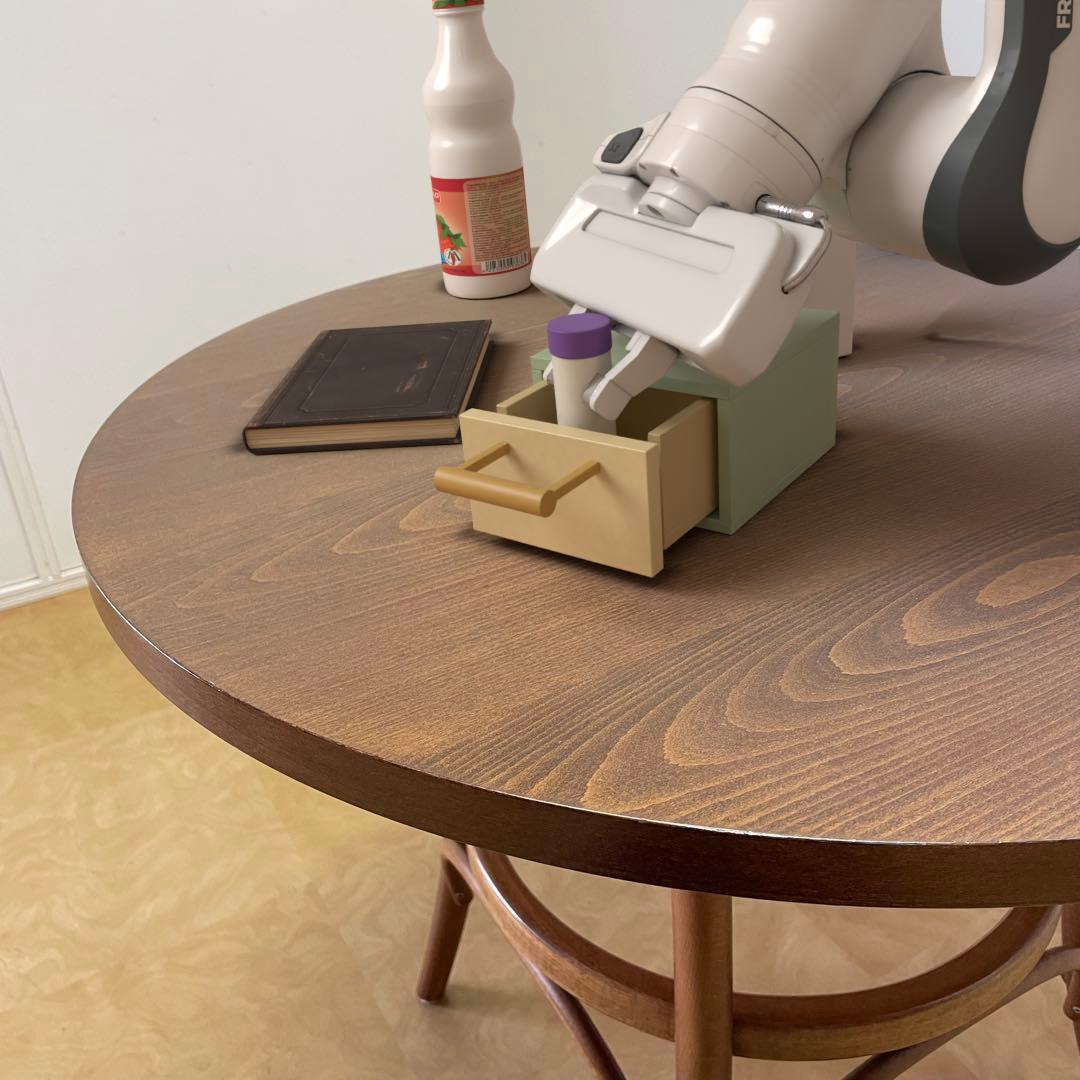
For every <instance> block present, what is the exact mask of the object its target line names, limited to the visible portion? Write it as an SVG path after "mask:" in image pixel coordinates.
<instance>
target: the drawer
mask: <svg viewBox="0 0 1080 1080" xmlns="http://www.w3.org/2000/svg"><path fill="white" fill-rule="evenodd" d="M717 399H718V398H712V397H706V396H700V395H693V394H687V393H681V392H674V391H668V390H662V389H656V388H649V387H647V388H646V389H644V390H643V391H642V392H640V393H639V394H637V395H636V396H634V397H633V396H632V398H631V399H630V400H629V402H628V403H627V405H626V406H625V408H624V409H623V411H622V412H621V413H620V415H619V416H618V418H617V419H616V420H615V421H616V435H617V436H615V435H609V434H604V433H599V432H594V431H588V430H583V429H578V428H573V427H568V426H562V425H558V420H557V409H556V399H555V389H554V388H553V387H551V386H550V385H548V384H547V383H546V382H545V381H544V380H542V381H540V382H538V383H537V384H535V385H533V384H532V385H531V386H529V387H527V388H525V389H524V390H522V391H520V392H518V393H517V394H515V395H512V396H511V397H509V398H507V399H505V400H503V401H501V402H499V403H498V404H496V412H494V411H488V410H485V409H478V408H473V407H472V408H471V409H469V410H468V411H466V412H464V413H462V414H460V415H459V420H460V428H461V436H462V440H461V443H462V451H463V457H464V462H462V463H460V464H458V465H457V466H455V467H454V466H450V465H447V464H446V465H445V464H444V465H443V464H442V465H440V466H439V467H438V468H437V469H436V470H435V472H434V475H433V486H434V488H435V489H436V490H437V492H441V493H444V494H449V495H453V496H457V497H461V498H464V499H469V503H470V511H471V512H470V513H471V520H472V527H473V530H474V531H478V532H481V533H485V534H489V535H493V536H496V537H500V538H504V539H507V540H511V541H515V542H518V543H522V544H526V545H530V546H534V547H537V548H540V549H544V550H548V551H551V552H555V553H560V554H563V555H566V556H567V555H568V556H571V557H574V558H578V559H582V560H586V561H590V562H592V563H596V564H600V565H604V566H608V567H612V568H615V569H619V570H623V571H626V572H630V573H633V574H636V575H640V576H645V577H648V578H654V577H655V576H656V575H657V574H658V573H660V572H661V571H662V570H663V569H664V551H666V550H667V549H668V548H669V547H670V546H672V545H673V544H674V543H675V542H677V541H678V540H679V539H681V538H682V537H683V536H684V535H685V534H687V533H688V532H689V531H690V530H691V529H693V528H694V527H695V525H696V524H697V523H698V522H700V521H701V520H702V519H703V518H705V517H706V516H707V515H708V514H709V513H711V512H712V511H713V510H714V509H716V508H717V507H718V506H719V464H718V404H717Z"/></svg>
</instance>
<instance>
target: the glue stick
mask: <svg viewBox="0 0 1080 1080" xmlns="http://www.w3.org/2000/svg"><path fill="white" fill-rule="evenodd" d="M546 332H547V341H548V347H549V352H550V353H551V355H552V366H553V377H554V388H555V399H556V409H557V420H558V425H562V426H568V427H573V428H578V429H583V430H588V431H594V432H599V433H604V434H609V435H615V436H617V435H616V421H615V420H614V421H608V420H606V419H604V418H603V417H601V416H599V415H598V414H596V413H595V412H593V411H592V410H591V409H589V408H588V407H586V406H585V405H584V404H583V403H582V401H581V396H582V394H583V392H584V391H585V390H586V389H587V388H588V387H589V384H590V382H591V381H592V379H593V378H594V377H595V375H596V374H597V373H598V374H600V375H602V376H604V375H606V374H607V373H608V372H609V371H610V370H611V369H612V361H611V348H612V333H611V320H610V318H609V317H607V316H605V315H601V314H595V313H578V314H570V315H568V314H566V315H562V316H558V317H556V318H553V319H552V320H550V321H548V323H547V325H546ZM604 377H605V376H604Z"/></svg>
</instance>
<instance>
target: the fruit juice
mask: <svg viewBox="0 0 1080 1080" xmlns="http://www.w3.org/2000/svg"><path fill="white" fill-rule="evenodd" d="M431 6H432V11H433V15H434V17H436V20H437V41H436V47H435V54H434V59H433V62H432V64H431V67H430V68H429V71H428V73H427V74H426V76H425V78H424V81H423V83H422V87H421V101H422V107H423V111H424V113H425V117H426V118H427V121H428V124H429V127H430V136H429V141H428V146H427V155H428V156H427V157H428V159H427V160H428V170H429V176H430V177H429V178H430V184H431V190H432V199H433V206H434V212H435V213H434V214H435V222H436V229H437V230H436V231H437V240H438V246H439V254H440V262H441V269H442V277H443V282H444V287H445V289H446V292H447V293H448V294H449V295H450V296H453V297H455V298H462V299H470V300H471V299H491V298H499V297H505V296H509V295H513V294H517V293H519V292H522V291H524V290H526V289H528V288H529V287H530V286H531V285H532V282H531V280H530V276H531V270H532V265H533V260H532V259H533V258H532V257H533V256H532V249H531V248H532V247H531V235H530V226H529V213H528V203H527V193H526V183H525V171H524V159H523V150H522V145H521V140H520V136H519V134H518V131H517V130H516V129H515V128H516V127H515V125H514V120H513V119H514V117H513V116H514V110H515V104H516V103H515V102H516V90H515V85H514V81H513V77H512V75H511V74H510V72H509V71H508V69H507V68H506V67H505V66H504V65H503V63H502V62H501V61H500V60H499V59H498V57H497V56H496V54H495V52H494V50H493V48H492V45H491V43H490V40H489V38H488V35H487V32H486V28H485V25H484V19H483V13H484V12H485V0H431Z"/></svg>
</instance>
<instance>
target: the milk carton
mask: <svg viewBox="0 0 1080 1080" xmlns="http://www.w3.org/2000/svg"><path fill="white" fill-rule="evenodd" d="M831 238H832V240H833V242H832V245H831V248H830V250H829V252H828V253H827V255H826V256H825V258H824V259H823V261H822V262H821V263H820V265H819V266H818V268H817V269H816V270H817V271H816V278H815V282H814V285H813V287H812V290H811V292H810V294H809V296H808V299H807V301H806V303H805V305H804V306H803V308H807V309H816V310H826V311H836V312H840V324H839V353H838V358H840V357H841V358H842V357H844V356H849V355H852V353H853V337H854V313H855V312H854V311H855V292H856V291H855V290H856V289H855V288H856V267H857V266H856V265H857V264H856V263H857V243H858V242H856V241H852V240H848V239H845V238H842V237H839V236H837V235H835V234H833V233H832V236H831Z"/></svg>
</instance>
